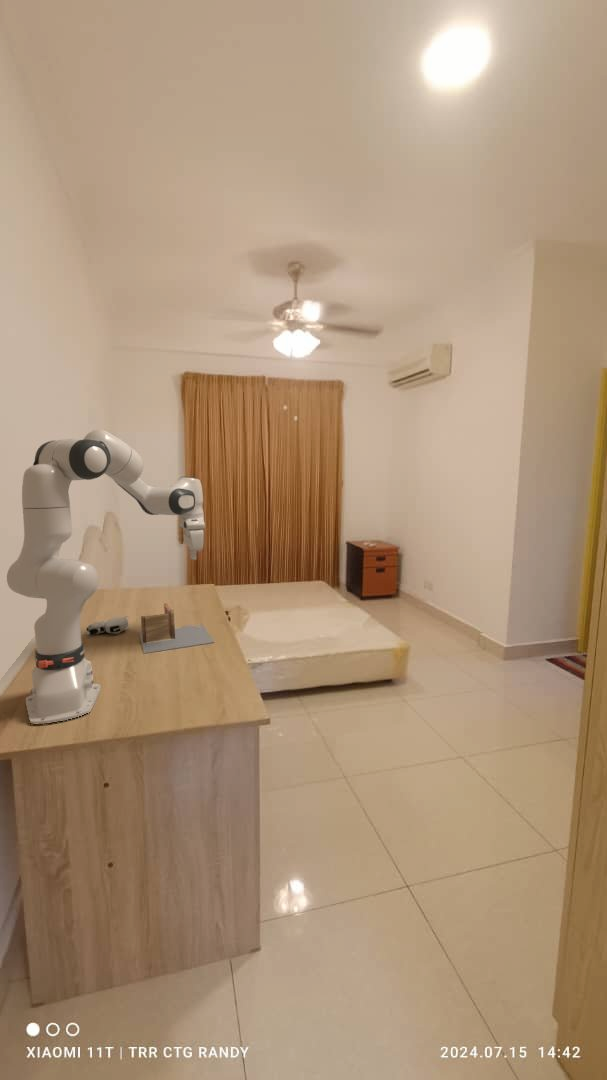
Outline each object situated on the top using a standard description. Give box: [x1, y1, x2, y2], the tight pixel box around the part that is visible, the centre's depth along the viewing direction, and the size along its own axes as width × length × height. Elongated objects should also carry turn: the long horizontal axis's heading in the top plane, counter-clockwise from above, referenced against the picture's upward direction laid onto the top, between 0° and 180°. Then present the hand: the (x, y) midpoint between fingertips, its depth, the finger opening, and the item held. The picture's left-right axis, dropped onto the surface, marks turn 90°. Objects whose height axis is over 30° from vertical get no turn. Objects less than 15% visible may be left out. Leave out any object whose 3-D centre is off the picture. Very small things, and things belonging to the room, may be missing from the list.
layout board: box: [138, 623, 215, 655], centre depth 176 cm, size 22×24×1 cm
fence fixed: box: [140, 609, 176, 643], centre depth 172 cm, size 2×11×11 cm, turn 113°
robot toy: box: [84, 615, 129, 636], centre depth 183 cm, size 12×4×15 cm
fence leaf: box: [163, 603, 172, 637], centre depth 180 cm, size 1×11×10 cm, turn 26°
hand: (193, 559), depth 175 cm, fingers closed
